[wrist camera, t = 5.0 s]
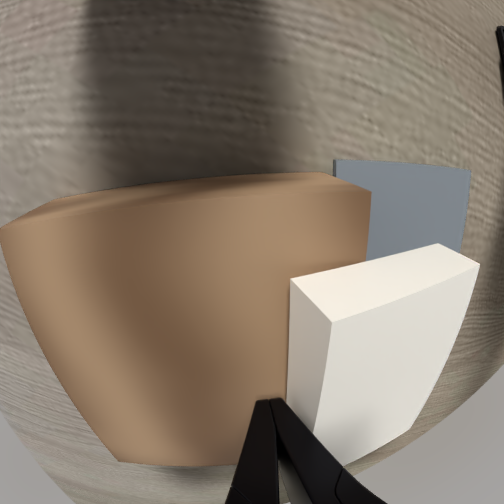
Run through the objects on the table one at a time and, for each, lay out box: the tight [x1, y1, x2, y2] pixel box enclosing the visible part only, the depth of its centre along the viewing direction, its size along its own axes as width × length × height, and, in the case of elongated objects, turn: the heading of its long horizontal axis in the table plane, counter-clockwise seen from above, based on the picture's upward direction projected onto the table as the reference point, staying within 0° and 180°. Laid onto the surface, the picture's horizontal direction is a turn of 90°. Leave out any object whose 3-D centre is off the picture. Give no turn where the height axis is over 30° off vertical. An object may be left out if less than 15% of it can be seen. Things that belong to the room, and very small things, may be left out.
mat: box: [333, 160, 471, 261], centre depth 13 cm, size 8×14×1 cm, turn 3°
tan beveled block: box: [0, 172, 372, 466], centre depth 11 cm, size 11×13×4 cm
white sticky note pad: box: [286, 243, 480, 466], centre depth 9 cm, size 6×9×2 cm, turn 4°
